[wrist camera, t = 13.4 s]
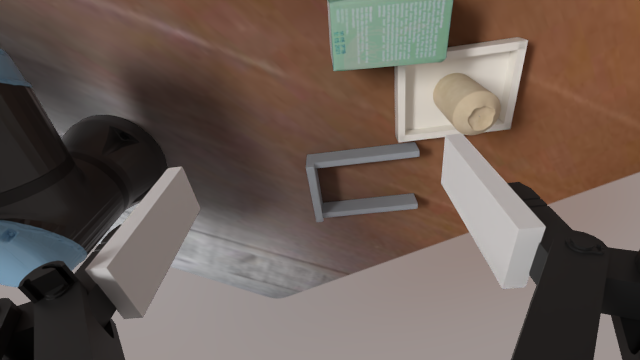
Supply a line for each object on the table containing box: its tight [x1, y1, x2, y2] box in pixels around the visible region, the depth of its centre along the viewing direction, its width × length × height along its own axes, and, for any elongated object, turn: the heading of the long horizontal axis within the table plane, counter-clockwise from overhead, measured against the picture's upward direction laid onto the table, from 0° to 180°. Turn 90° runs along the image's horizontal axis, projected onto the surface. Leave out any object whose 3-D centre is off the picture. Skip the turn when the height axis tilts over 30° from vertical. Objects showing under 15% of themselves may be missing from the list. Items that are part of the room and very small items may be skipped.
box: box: [327, 0, 453, 71], centre depth 37 cm, size 7×14×8 cm, turn 96°
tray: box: [394, 37, 528, 142], centre depth 44 cm, size 16×12×2 cm
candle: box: [433, 73, 501, 135], centre depth 40 cm, size 6×6×10 cm
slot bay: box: [306, 142, 419, 222], centre depth 51 cm, size 17×11×4 cm, turn 98°
